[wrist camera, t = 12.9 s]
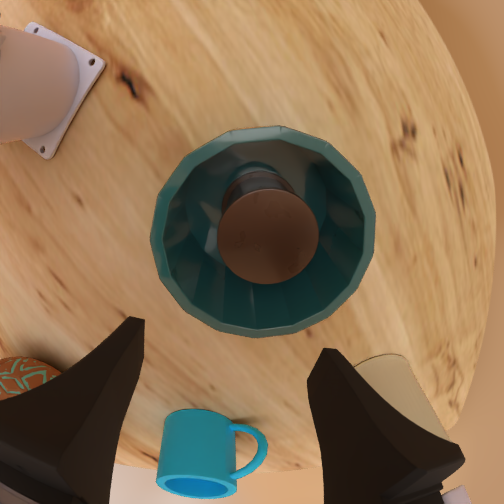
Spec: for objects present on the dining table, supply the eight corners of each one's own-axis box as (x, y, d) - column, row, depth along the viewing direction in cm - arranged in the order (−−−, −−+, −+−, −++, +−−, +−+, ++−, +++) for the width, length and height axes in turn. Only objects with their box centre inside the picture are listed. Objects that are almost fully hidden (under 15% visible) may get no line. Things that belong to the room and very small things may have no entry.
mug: (187, 447, 31) (183, 500, 24) (151, 415, 28) (139, 475, 21) (276, 429, 30) (284, 488, 23) (250, 393, 27) (255, 464, 19)
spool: (208, 193, 18) (197, 220, 13) (276, 157, 18) (293, 170, 13) (244, 254, 20) (247, 299, 15) (308, 222, 19) (333, 258, 14)
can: (411, 341, 26) (467, 431, 15) (406, 391, 29) (444, 468, 18) (326, 373, 26) (360, 480, 15) (336, 418, 30) (360, 503, 19)
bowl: (150, 219, 19) (113, 265, 13) (244, 95, 16) (249, 76, 10) (265, 298, 22) (277, 364, 16) (359, 195, 19) (412, 230, 13)
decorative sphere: (-7, 309, 22) (-78, 402, 8) (109, 355, 24) (59, 494, 11) (21, 392, 27) (-17, 472, 14) (116, 430, 30) (93, 527, 16)
